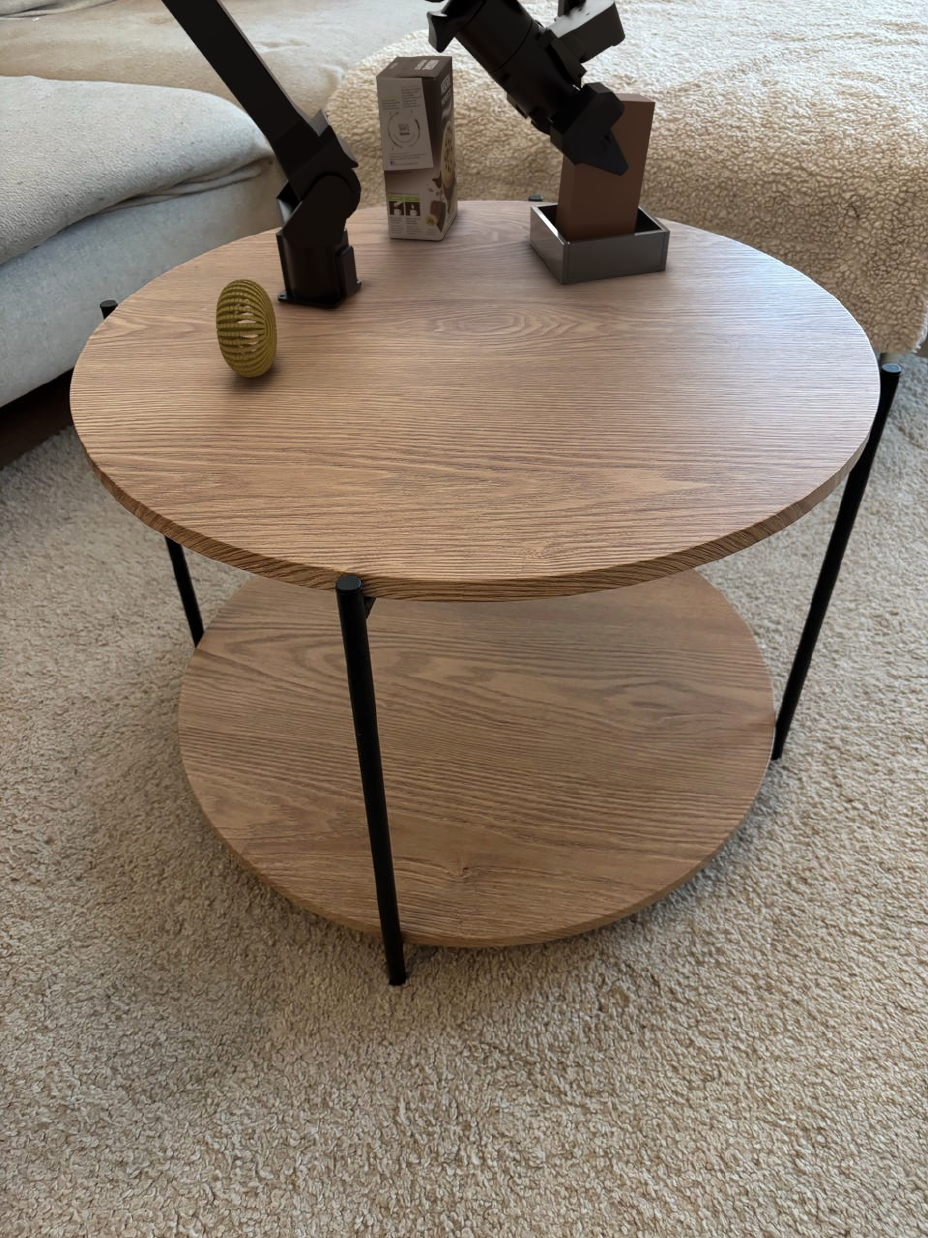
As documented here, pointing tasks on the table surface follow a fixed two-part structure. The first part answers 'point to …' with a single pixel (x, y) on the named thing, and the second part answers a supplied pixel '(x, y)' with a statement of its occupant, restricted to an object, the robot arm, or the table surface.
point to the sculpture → (246, 328)
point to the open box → (599, 248)
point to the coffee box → (418, 145)
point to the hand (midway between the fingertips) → (614, 162)
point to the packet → (607, 181)
